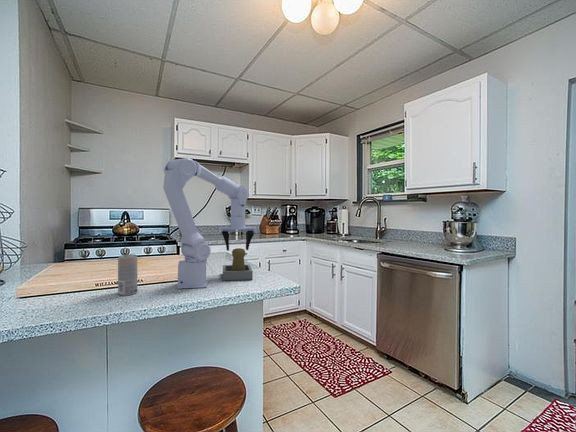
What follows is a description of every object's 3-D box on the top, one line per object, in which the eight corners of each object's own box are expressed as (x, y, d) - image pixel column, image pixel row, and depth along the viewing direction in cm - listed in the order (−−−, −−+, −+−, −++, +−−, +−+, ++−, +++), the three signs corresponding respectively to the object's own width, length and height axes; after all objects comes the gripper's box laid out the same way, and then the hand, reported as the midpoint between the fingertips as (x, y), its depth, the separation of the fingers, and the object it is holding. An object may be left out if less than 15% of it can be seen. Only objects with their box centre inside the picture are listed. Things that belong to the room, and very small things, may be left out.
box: (222, 281, 107) (223, 271, 106) (222, 273, 117) (222, 265, 117) (252, 280, 109) (252, 271, 109) (249, 272, 120) (249, 264, 120)
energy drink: (134, 289, 94) (134, 253, 94) (139, 293, 91) (139, 256, 90) (116, 292, 91) (115, 255, 90) (120, 297, 87) (120, 258, 86)
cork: (245, 278, 110) (246, 250, 109) (229, 278, 109) (230, 249, 108) (246, 274, 116) (246, 247, 115) (231, 274, 115) (231, 247, 114)
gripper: (220, 216, 107) (219, 252, 108) (258, 216, 112) (257, 251, 113) (218, 215, 114) (218, 249, 115) (254, 215, 119) (253, 248, 119)
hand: (237, 249), depth 114 cm, fingers open, 7 cm apart
